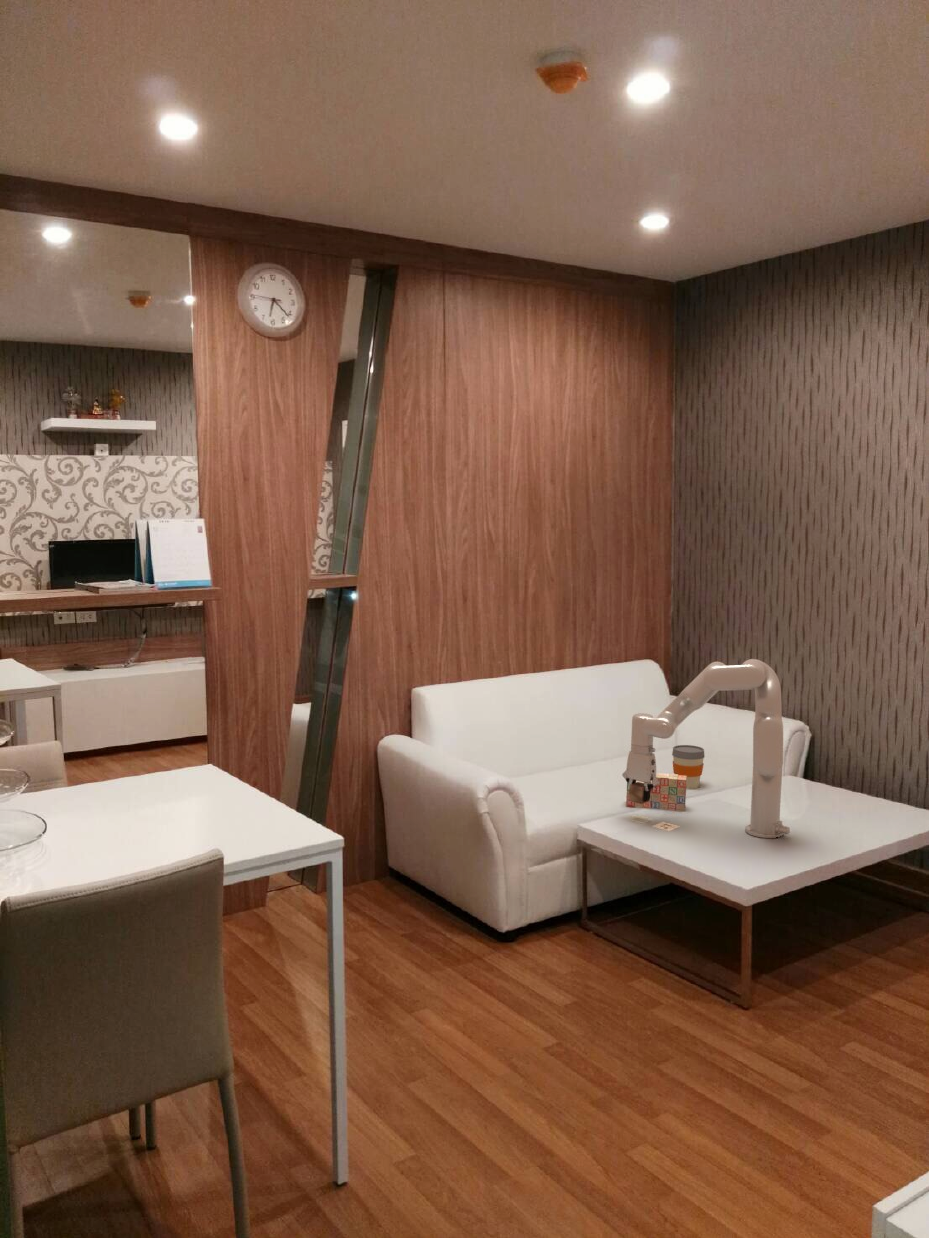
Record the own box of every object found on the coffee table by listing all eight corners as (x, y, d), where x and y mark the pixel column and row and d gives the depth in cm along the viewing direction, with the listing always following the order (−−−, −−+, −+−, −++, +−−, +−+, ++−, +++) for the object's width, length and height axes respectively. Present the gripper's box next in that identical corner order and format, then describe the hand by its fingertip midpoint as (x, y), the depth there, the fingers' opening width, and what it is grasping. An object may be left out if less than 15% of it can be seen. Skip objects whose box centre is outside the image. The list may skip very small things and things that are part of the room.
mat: (690, 825, 353) (690, 824, 353) (665, 835, 341) (666, 834, 341) (640, 811, 367) (640, 810, 367) (614, 821, 355) (614, 820, 355)
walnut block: (649, 801, 357) (650, 784, 356) (641, 804, 353) (642, 787, 353) (637, 798, 360) (638, 781, 360) (629, 800, 357) (630, 784, 356)
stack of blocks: (625, 807, 373) (626, 774, 371) (627, 802, 379) (628, 770, 377) (684, 812, 367) (686, 779, 366) (685, 807, 373) (687, 774, 372)
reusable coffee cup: (685, 791, 393) (687, 754, 391) (664, 783, 404) (665, 746, 402) (710, 787, 399) (711, 750, 397) (688, 779, 410) (690, 743, 408)
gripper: (668, 751, 352) (666, 802, 354) (627, 742, 363) (625, 791, 365) (656, 755, 346) (654, 806, 348) (615, 746, 358) (613, 795, 360)
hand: (639, 798), depth 357 cm, fingers closed on walnut block, 5 cm apart
